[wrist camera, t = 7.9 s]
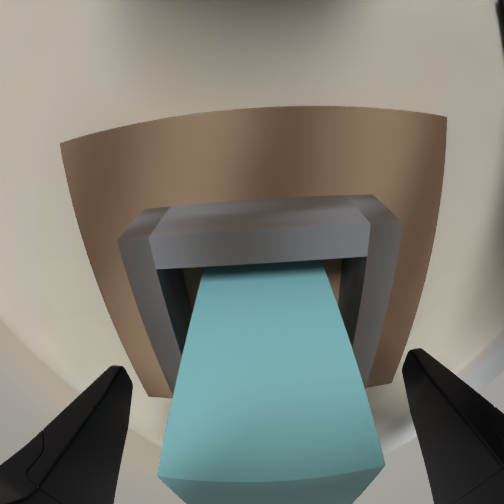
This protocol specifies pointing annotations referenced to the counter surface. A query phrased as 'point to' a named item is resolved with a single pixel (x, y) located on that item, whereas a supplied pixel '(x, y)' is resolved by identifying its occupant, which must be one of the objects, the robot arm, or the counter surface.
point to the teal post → (269, 394)
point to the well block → (260, 218)
